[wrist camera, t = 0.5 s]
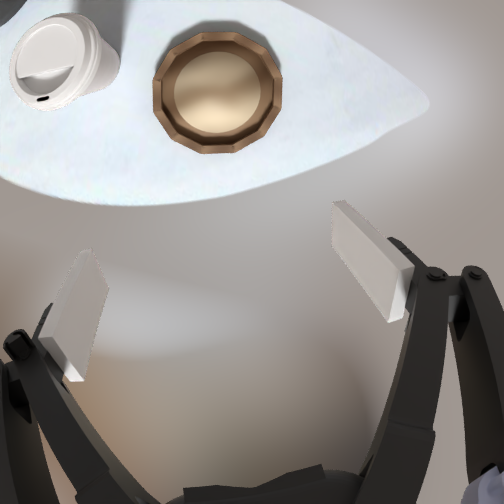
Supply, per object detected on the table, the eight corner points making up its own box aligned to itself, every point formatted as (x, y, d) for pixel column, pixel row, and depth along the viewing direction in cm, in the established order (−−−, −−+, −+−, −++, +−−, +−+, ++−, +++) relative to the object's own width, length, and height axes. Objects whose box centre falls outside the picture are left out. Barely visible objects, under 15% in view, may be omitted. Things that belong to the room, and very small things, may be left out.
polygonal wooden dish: (131, 76, 31) (128, 75, 30) (242, 14, 30) (244, 11, 28) (195, 173, 39) (195, 177, 38) (299, 115, 37) (303, 116, 36)
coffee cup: (54, 93, 30) (-10, 102, 17) (81, 27, 26) (27, 3, 13) (114, 111, 33) (69, 124, 20) (144, 43, 29) (113, 18, 17)
